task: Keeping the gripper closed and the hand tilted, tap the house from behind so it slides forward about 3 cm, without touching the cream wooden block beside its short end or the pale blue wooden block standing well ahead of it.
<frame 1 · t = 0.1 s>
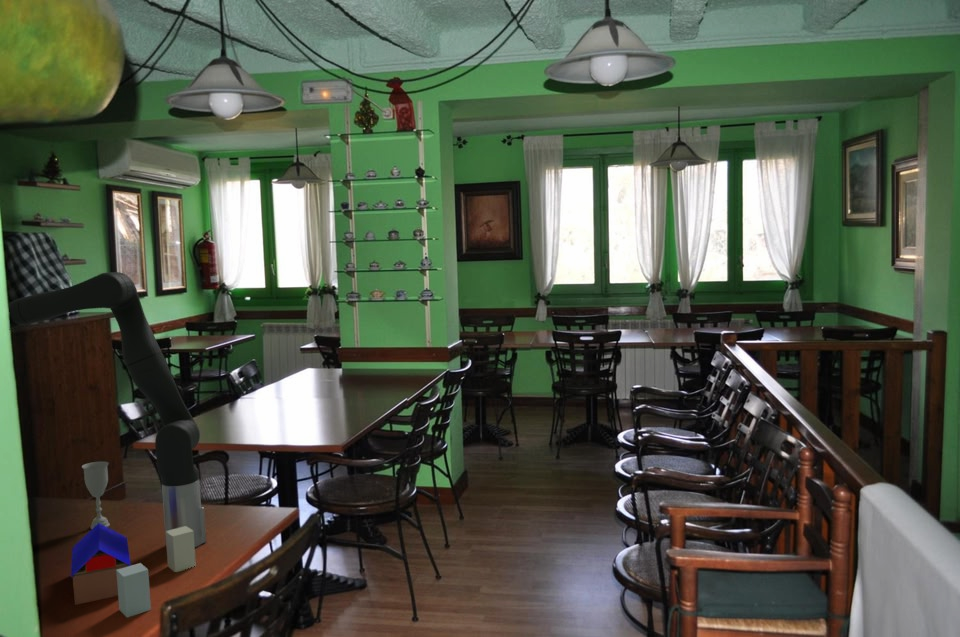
chalice: (100, 526, 216), on the table
house: (102, 584, 177), on the table
cream block: (181, 566, 185), on the table
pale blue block: (135, 609, 163), on the table
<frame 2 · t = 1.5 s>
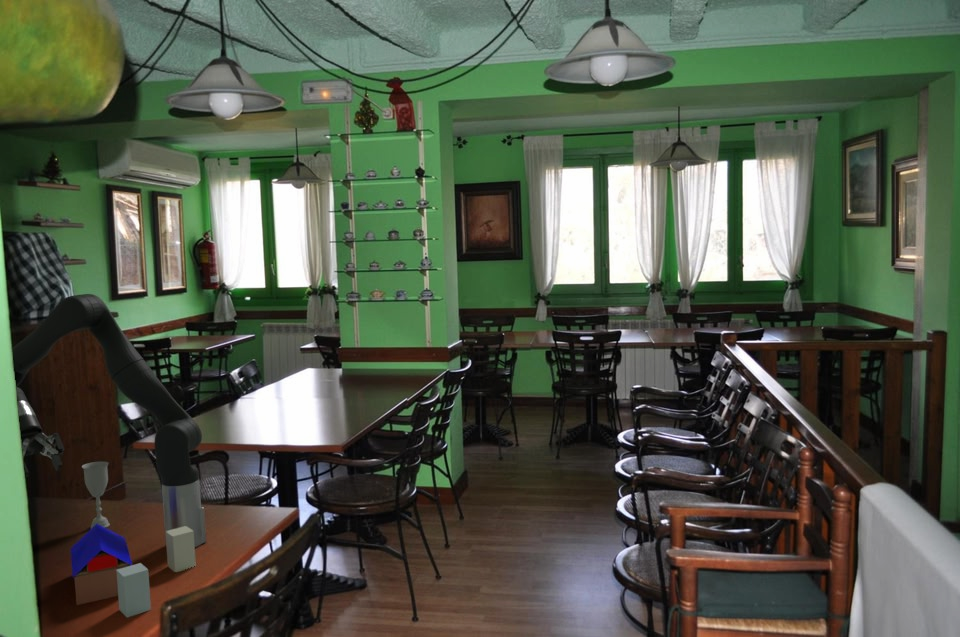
hand: (43, 472, 192), 23 cm above the table, tool tilted 45°, fingers open, 7 cm apart
nothing on the table moved.
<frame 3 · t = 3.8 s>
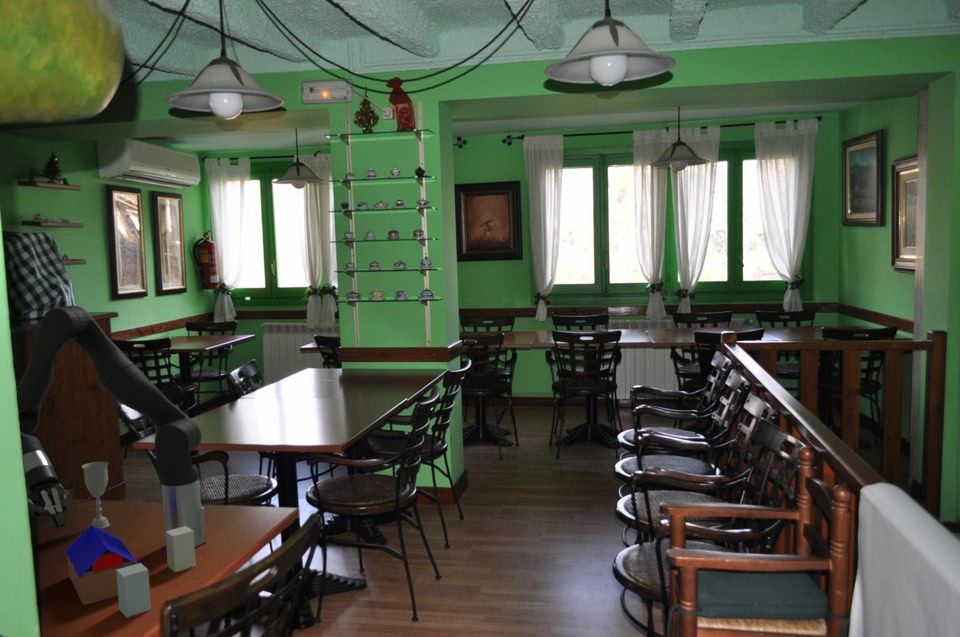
hand: (61, 528, 188), 9 cm above the table, tool tilted 45°, fingers closed
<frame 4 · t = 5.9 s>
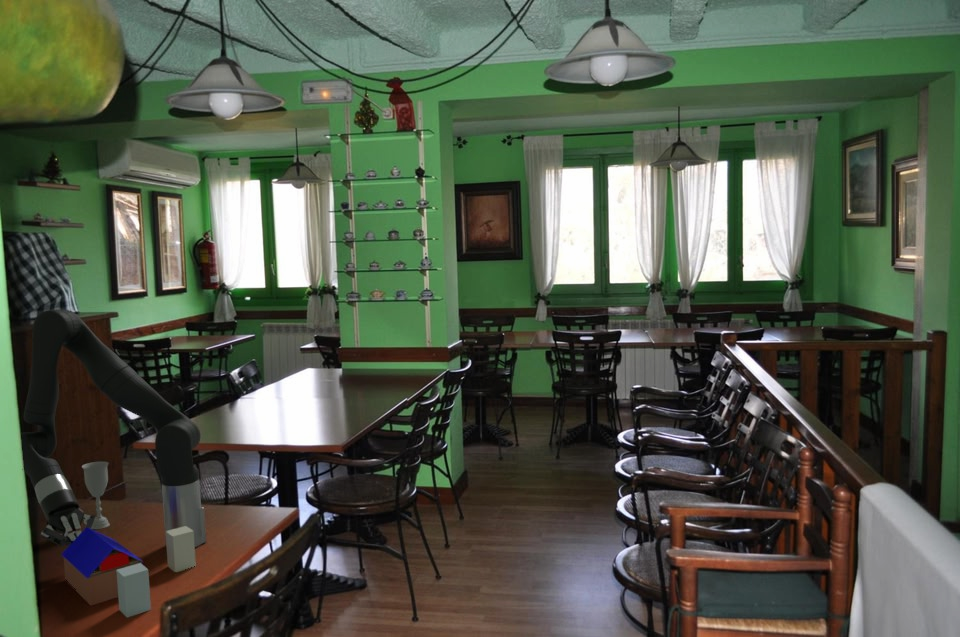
hand: (82, 555, 182), 5 cm above the table, tool tilted 45°, fingers closed
house: (104, 586, 176), on the table, touching gripper
everything else where it was.
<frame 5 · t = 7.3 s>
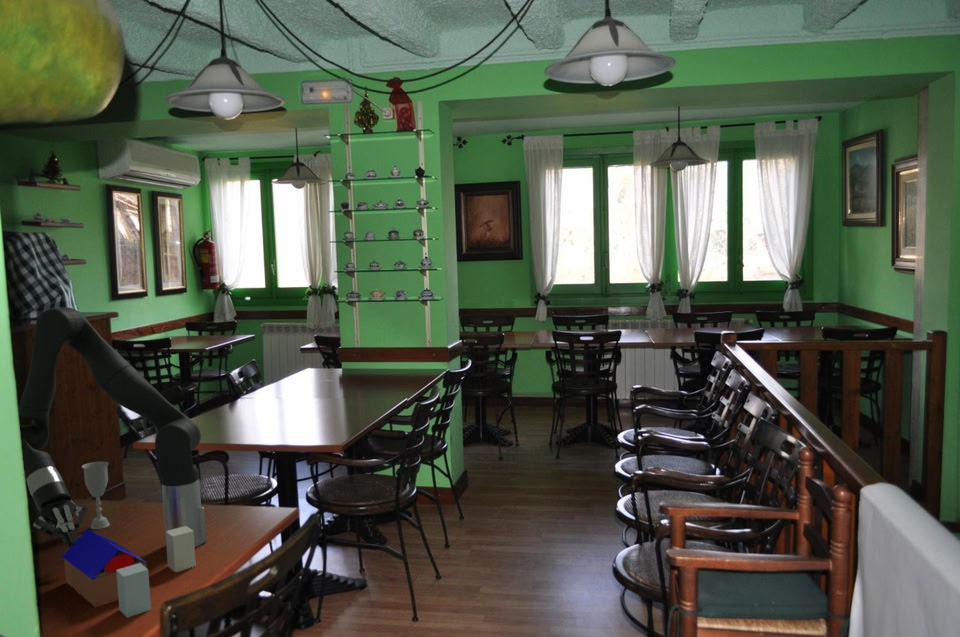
hand: (74, 546, 184), 6 cm above the table, tool tilted 45°, fingers closed
house: (106, 588, 175), on the table
everything else where it was.
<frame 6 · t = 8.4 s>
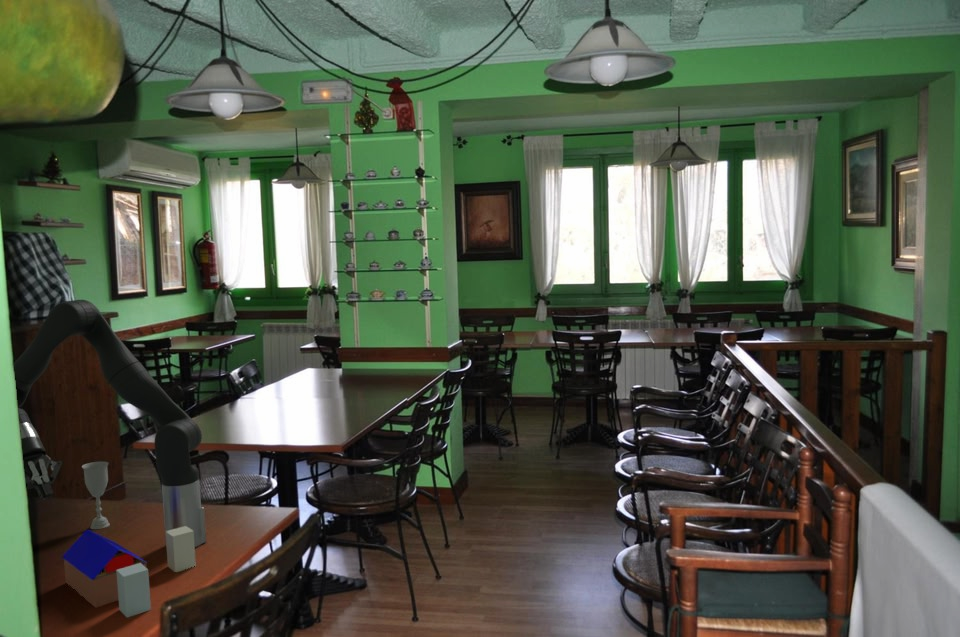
hand: (48, 497, 191), 16 cm above the table, tool tilted 45°, fingers closed
nothing on the table moved.
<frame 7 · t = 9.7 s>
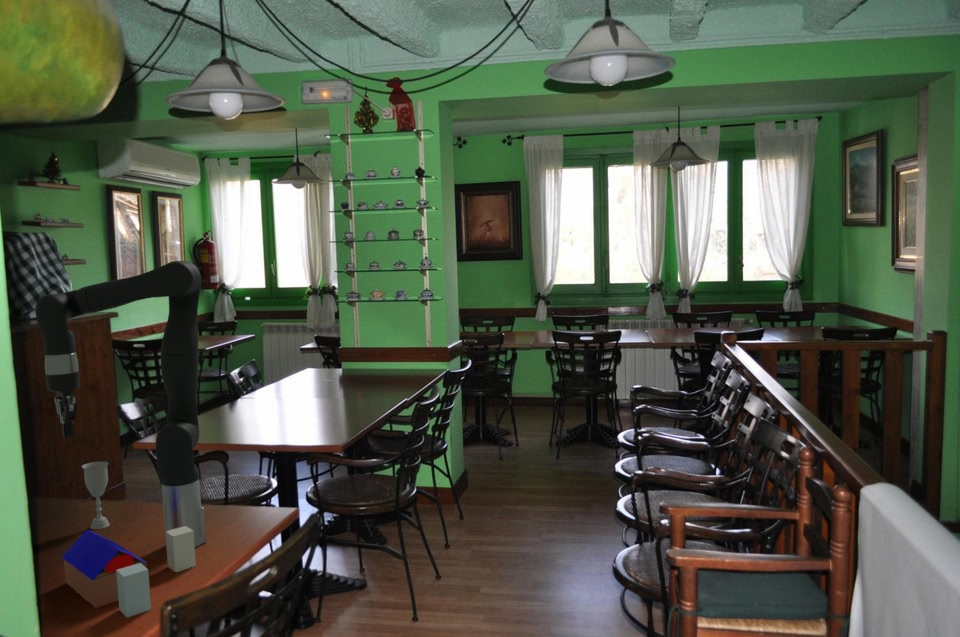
hand: (68, 437, 194), 31 cm above the table, tool pointing down, fingers closed
nothing on the table moved.
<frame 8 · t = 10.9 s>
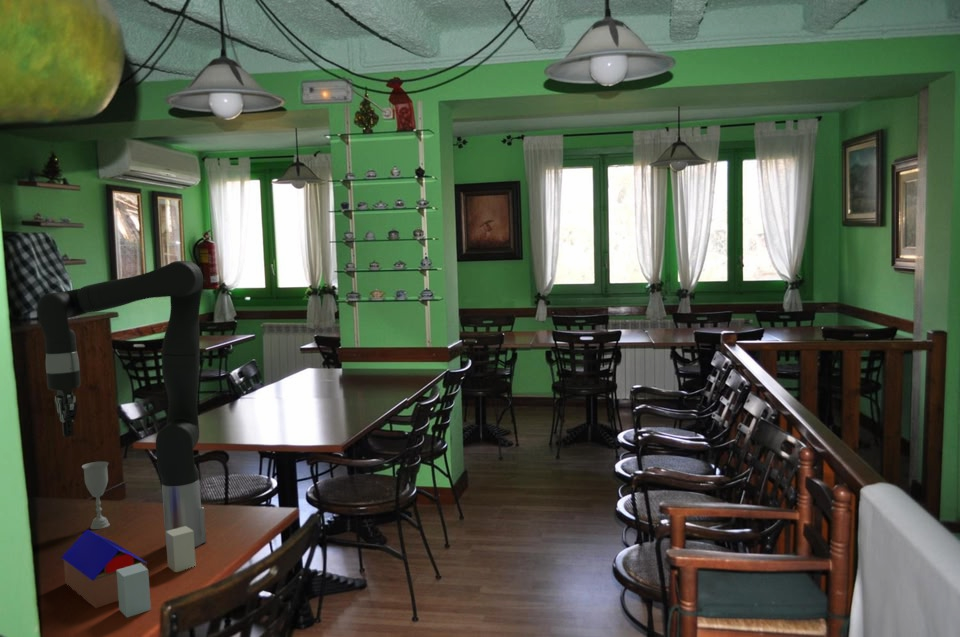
hand: (68, 436, 194), 31 cm above the table, tool pointing down, fingers closed
nothing on the table moved.
at the end: house moved 3.2 cm from its start; cream block moved 0.1 cm from its start; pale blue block moved 0.1 cm from its start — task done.
